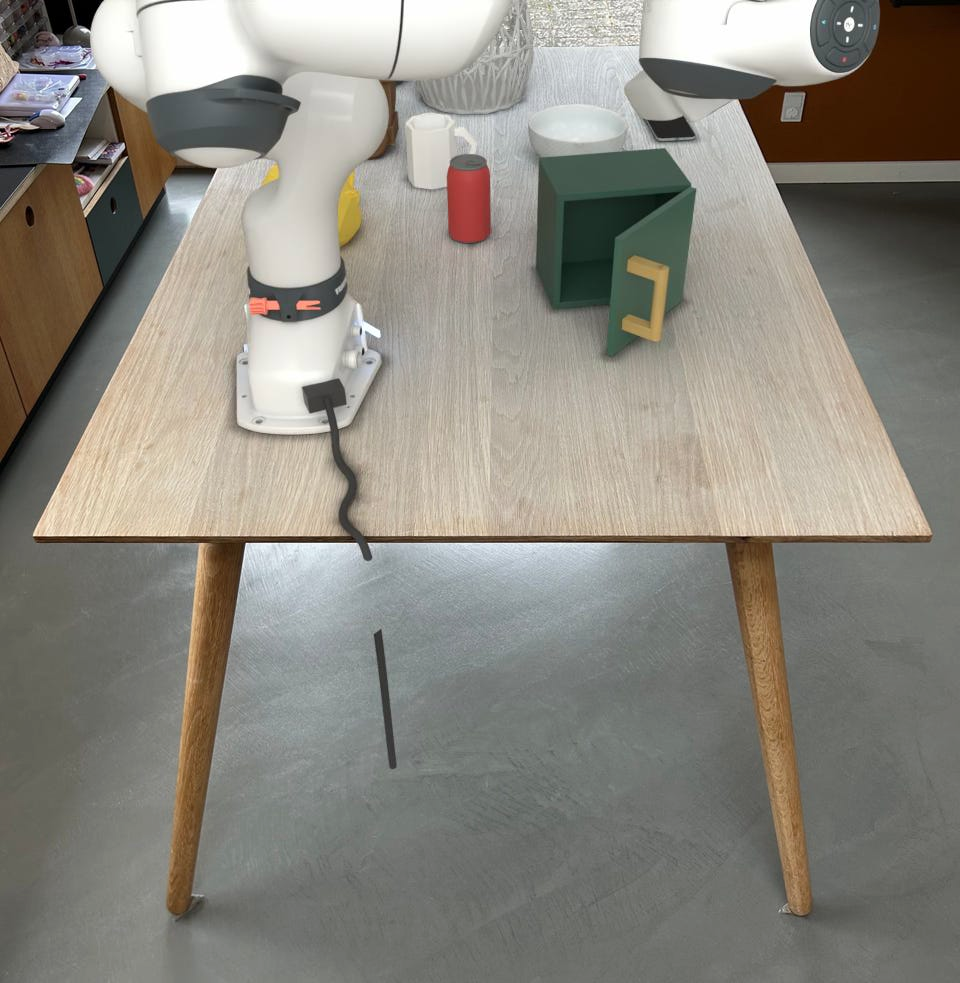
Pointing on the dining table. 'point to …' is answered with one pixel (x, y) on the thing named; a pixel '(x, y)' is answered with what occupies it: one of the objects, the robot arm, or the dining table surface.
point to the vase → (488, 73)
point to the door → (649, 272)
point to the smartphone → (671, 129)
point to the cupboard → (595, 216)
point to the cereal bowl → (576, 130)
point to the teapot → (346, 207)
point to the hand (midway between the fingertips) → (688, 40)
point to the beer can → (468, 198)
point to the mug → (433, 148)
